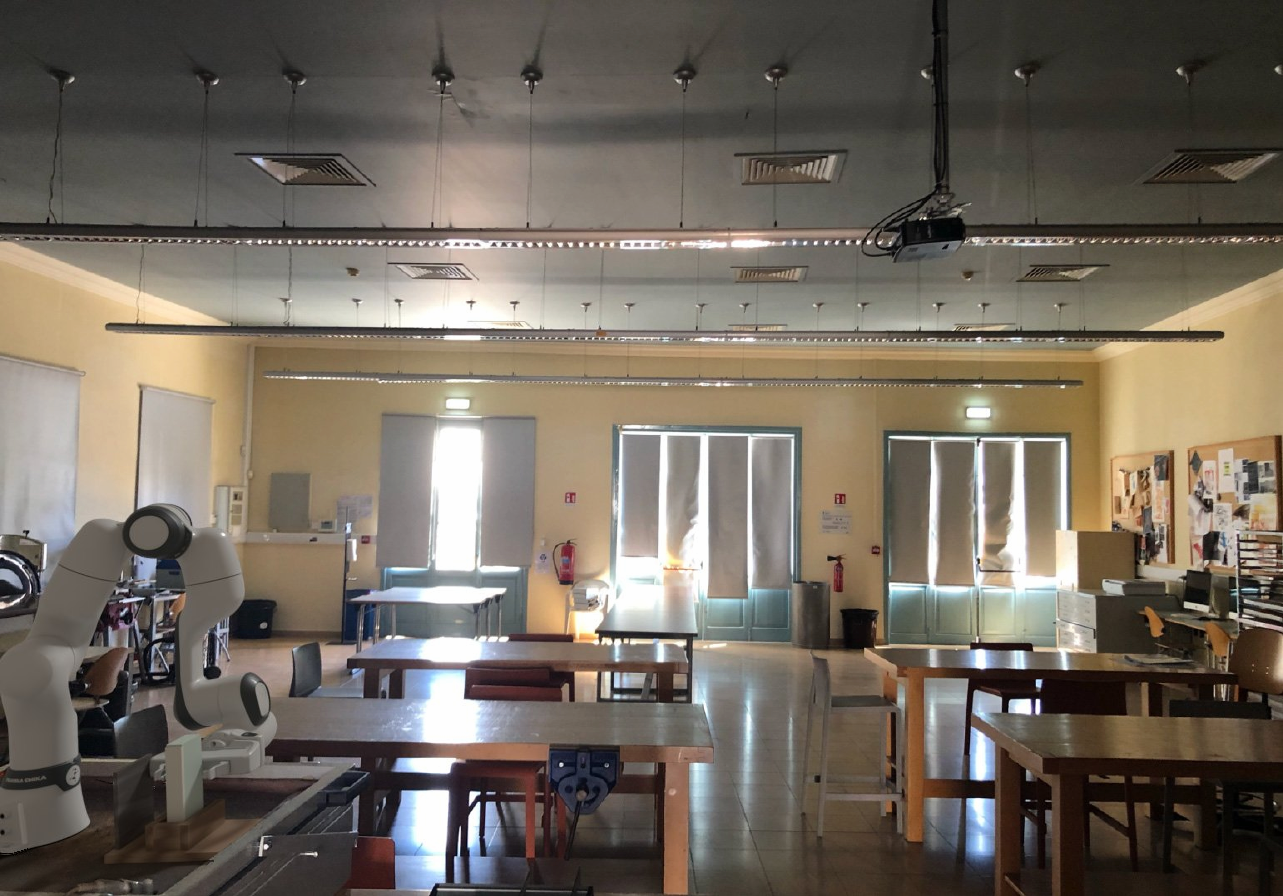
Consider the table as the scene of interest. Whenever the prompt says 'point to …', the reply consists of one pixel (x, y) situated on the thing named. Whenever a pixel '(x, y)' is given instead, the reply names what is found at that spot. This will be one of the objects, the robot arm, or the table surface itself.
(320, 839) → the table surface
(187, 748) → the pale green flat block
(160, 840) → the stand
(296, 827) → the table surface
